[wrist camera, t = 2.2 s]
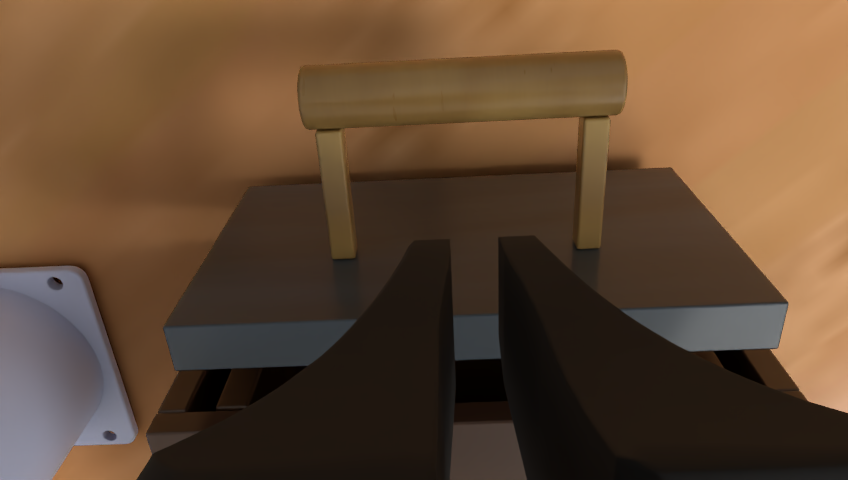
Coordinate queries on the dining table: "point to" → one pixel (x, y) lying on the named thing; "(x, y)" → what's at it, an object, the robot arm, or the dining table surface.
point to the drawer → (461, 229)
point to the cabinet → (472, 429)
